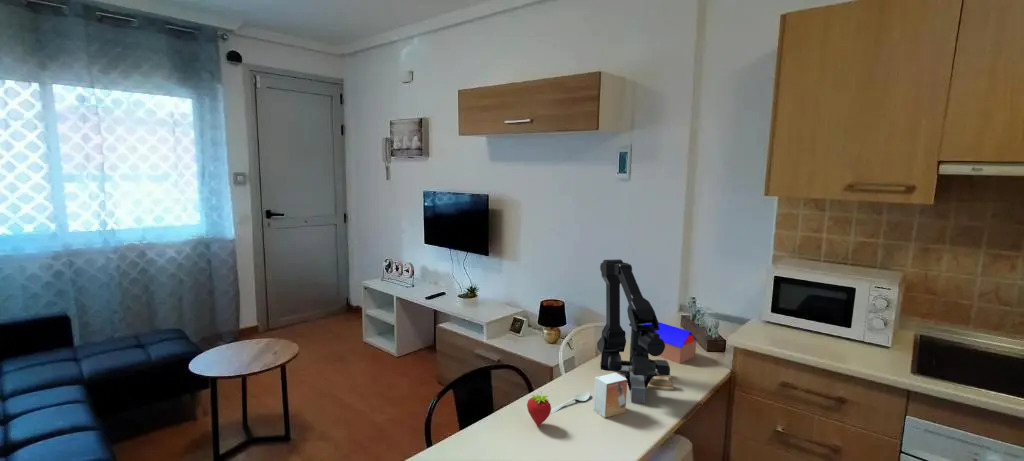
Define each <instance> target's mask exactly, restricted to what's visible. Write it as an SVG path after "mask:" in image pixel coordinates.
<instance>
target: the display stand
mask: <svg viewBox="0 0 1024 461" xmlns="http://www.w3.org/2000/svg"><path fill="white" fill-rule="evenodd" d="M647 389H648V390H649V389H651V390H660V391H661V390H662V391H669V392H670V391H672V392H673V391H674V387H673V385H672V376H671V374H670V375H659V373H658V372H657V376H654V377H653V378H652V379H651V380H650V382H649V384H648V386H647Z"/></svg>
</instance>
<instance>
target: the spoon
mask: <svg viewBox="0 0 1024 461" xmlns="http://www.w3.org/2000/svg"><path fill="white" fill-rule="evenodd" d="M590 397H591V393H590V392H589V391H585V392H582V393H579V394H576V395H574V396H573V397H572V398H570V399H569V400H567V401H565V402H563V403H561V404H559V405H556V406H554V407H553V408H552V407H551V412H550V414H553V413H556V412H557V411H559V410H560V409H562V408H563V407H564V406H566V405H567V404H569V403H571V402H573V401H574V400H577V401H579V402H585V401H587V400H589V399H590ZM580 398H581V399H580Z"/></svg>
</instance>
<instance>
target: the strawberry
mask: <svg viewBox="0 0 1024 461" xmlns="http://www.w3.org/2000/svg"><path fill="white" fill-rule="evenodd" d="M542 392H543V391H541V393H540V395H539V394H537V393H536V395H534V394H532V395H531V396H532V397H530V398H529V399H528V400H527V404H526V407H527V412H528V414H529V415H530V418H531V419H532V420H533V422H534V423H535V425H536V426H541V425H542V424H543V423H544V422H545V421H546V420H547V419H548V418H549V417H550V414H551V413H550V412H551V409H552V405H551V403H550V402H549V401H550V400H549V399H548V397H549V395H542V394H543V393H542Z"/></svg>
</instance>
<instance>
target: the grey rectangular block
mask: <svg viewBox="0 0 1024 461" xmlns="http://www.w3.org/2000/svg"><path fill="white" fill-rule="evenodd" d="M644 378H645V377H644V376H642V375H633V373H632V371H630V381H631V390H629V393H630V395H629V396H630V403H633V404H642V405H645V402H646V390H645V383H644Z"/></svg>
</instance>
